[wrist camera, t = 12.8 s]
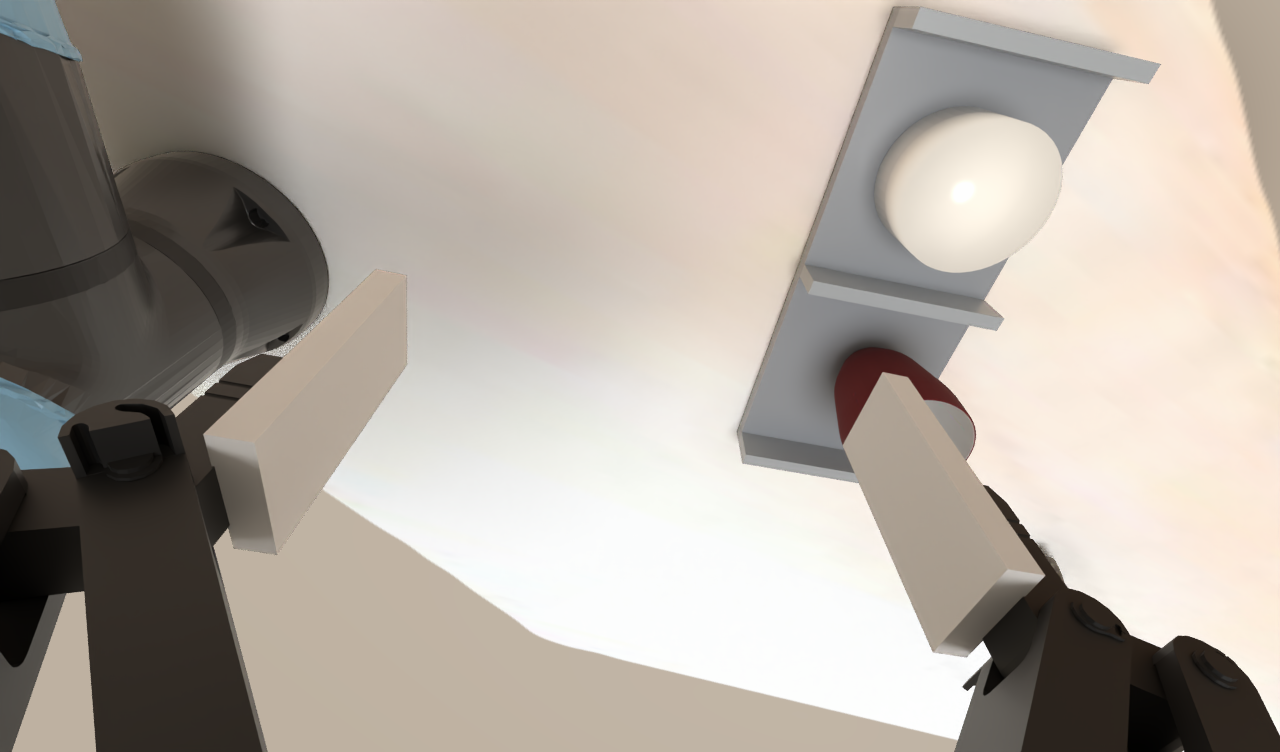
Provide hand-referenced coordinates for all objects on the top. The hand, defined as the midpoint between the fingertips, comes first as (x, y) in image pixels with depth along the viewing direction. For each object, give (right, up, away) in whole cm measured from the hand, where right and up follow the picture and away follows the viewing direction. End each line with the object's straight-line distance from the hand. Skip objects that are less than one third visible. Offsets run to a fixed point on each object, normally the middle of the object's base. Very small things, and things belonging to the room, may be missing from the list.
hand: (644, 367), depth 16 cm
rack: (+19, +7, +27) cm, 34 cm away
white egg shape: (+20, +13, +22) cm, 32 cm away
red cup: (+19, -1, +31) cm, 36 cm away
